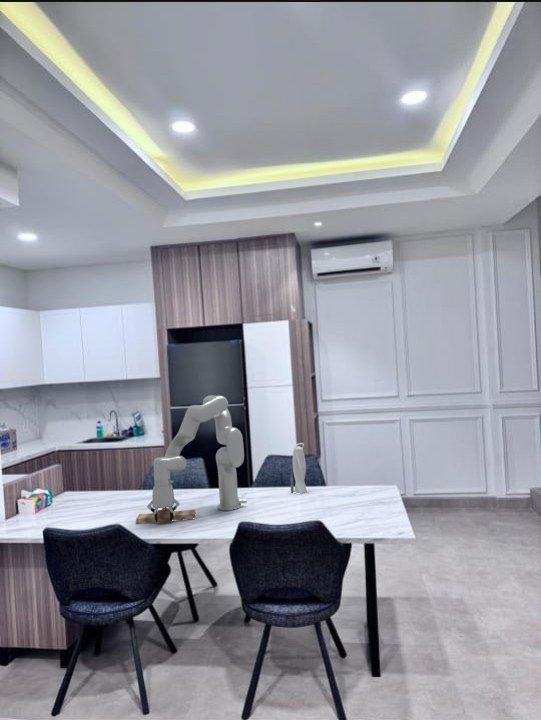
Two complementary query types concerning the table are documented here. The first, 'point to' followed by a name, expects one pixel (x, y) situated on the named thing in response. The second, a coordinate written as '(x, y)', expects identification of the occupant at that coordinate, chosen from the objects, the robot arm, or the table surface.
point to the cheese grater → (298, 470)
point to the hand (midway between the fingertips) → (164, 520)
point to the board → (176, 516)
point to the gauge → (163, 516)
